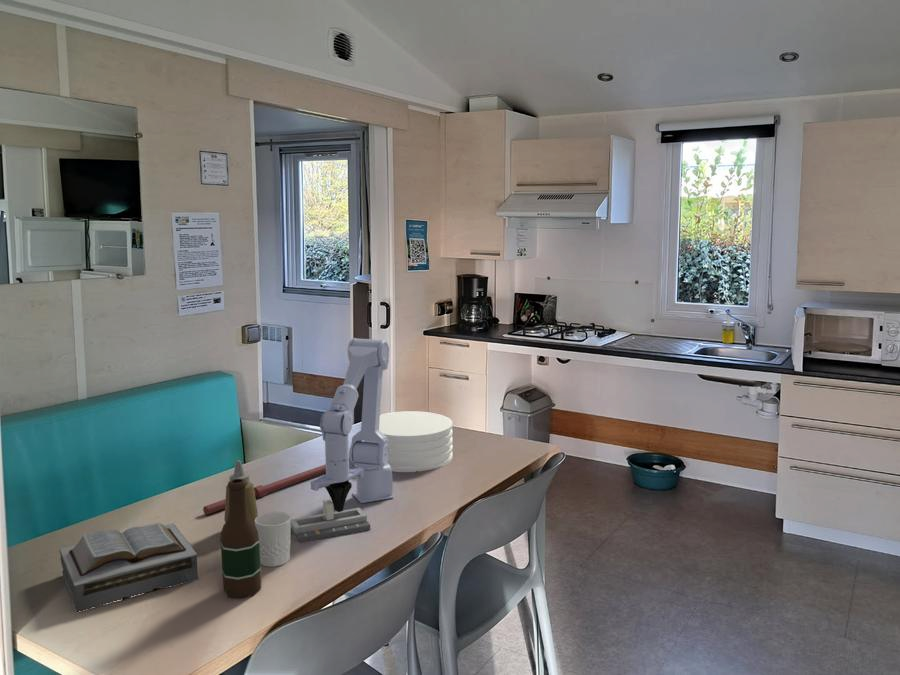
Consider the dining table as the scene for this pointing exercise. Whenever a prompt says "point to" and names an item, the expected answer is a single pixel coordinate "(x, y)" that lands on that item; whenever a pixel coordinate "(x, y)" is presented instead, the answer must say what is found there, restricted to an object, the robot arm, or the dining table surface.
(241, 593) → the sauce bottle
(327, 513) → the fader
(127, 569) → the bible
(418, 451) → the plate stack
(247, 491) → the squeeze bottle
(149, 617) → the dining table surface
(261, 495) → the red long thin rod
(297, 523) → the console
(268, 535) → the white cup
